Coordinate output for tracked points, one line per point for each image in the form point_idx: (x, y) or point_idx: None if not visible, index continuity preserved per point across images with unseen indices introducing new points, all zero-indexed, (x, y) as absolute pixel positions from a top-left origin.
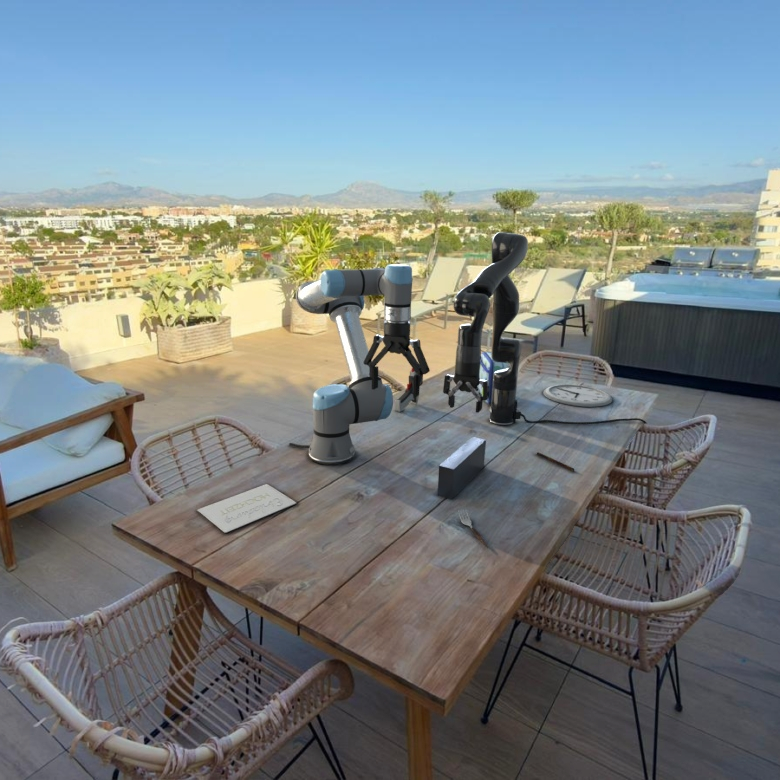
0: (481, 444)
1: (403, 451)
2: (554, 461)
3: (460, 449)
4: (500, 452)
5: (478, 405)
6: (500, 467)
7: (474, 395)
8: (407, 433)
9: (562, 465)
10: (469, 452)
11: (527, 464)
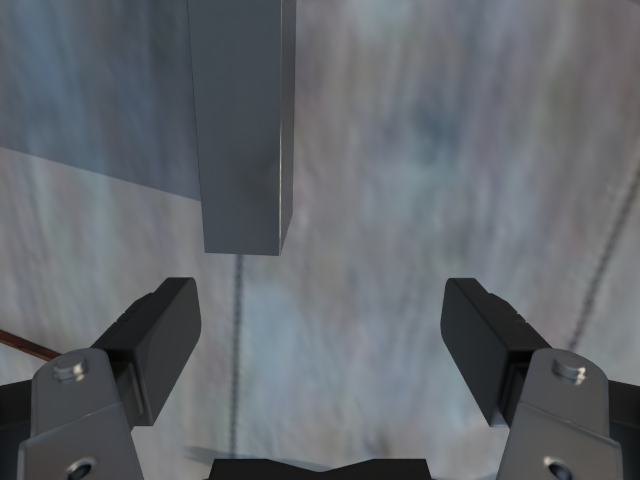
0: (201, 187)
1: (571, 187)
2: (50, 354)
3: (268, 42)
4: (237, 348)
5: (135, 322)
6: (187, 238)
7: (116, 407)
8: (595, 342)
9: (17, 340)
10: (203, 25)
11: (122, 304)
